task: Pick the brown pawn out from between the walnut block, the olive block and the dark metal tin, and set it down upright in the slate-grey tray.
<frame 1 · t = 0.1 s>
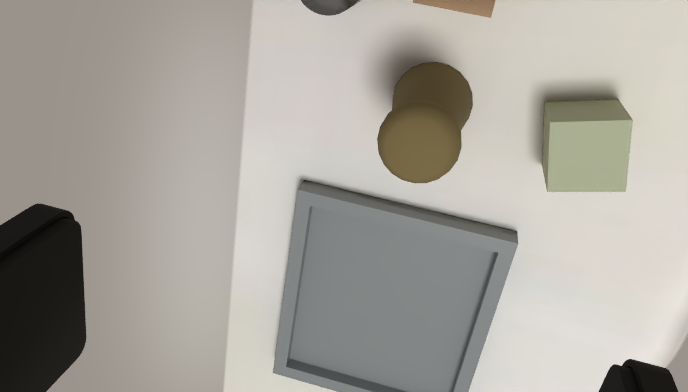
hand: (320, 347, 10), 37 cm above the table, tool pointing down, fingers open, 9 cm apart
olive block: (578, 133, 44), on the table
slate tray: (385, 302, 54), on the table
brown pawn: (432, 101, 46), on the table
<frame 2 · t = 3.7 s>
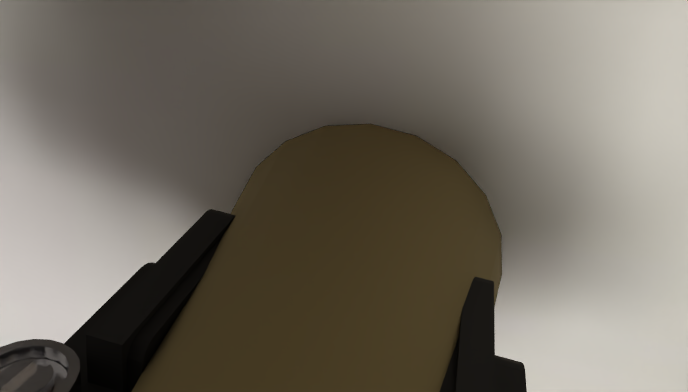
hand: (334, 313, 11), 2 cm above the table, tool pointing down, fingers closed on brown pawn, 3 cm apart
brown pawn: (364, 249, 13), on the table, touching gripper
when the fingers open (5 cm above the table, at t = 11.0 s): brown pawn stays where it is, resting on slate tray.
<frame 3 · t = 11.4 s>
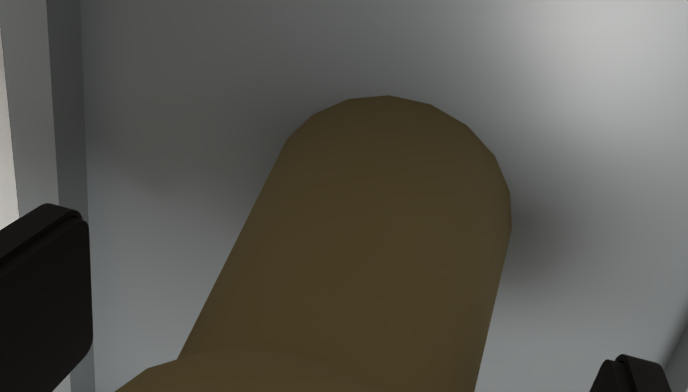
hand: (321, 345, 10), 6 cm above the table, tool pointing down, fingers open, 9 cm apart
slate tray: (377, 206, 15), on the table
brown pawn: (385, 212, 15), point 1 cm above the table, touching slate tray
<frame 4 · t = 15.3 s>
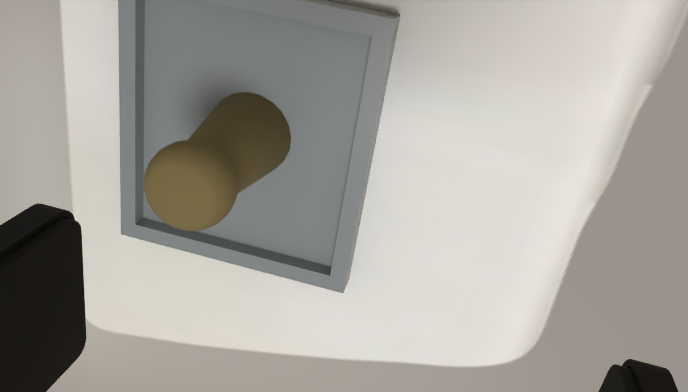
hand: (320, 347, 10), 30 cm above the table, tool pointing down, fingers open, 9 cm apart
slate tray: (249, 132, 43), on the table
brown pawn: (250, 133, 42), point 1 cm above the table, touching slate tray
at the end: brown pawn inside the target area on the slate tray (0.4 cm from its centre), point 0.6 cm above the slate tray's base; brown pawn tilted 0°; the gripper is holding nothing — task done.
